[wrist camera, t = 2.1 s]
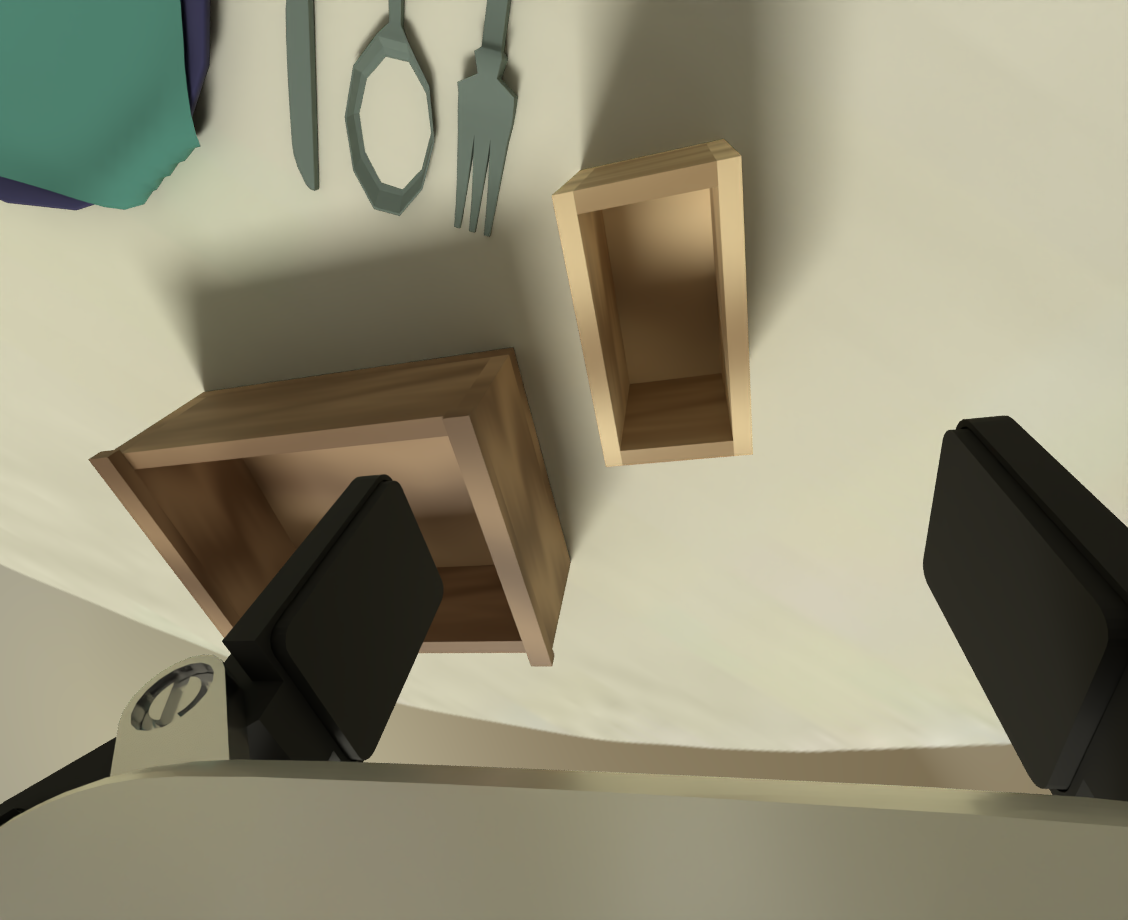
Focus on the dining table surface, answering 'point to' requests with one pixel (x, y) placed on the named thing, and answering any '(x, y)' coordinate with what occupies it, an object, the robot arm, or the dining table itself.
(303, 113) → the cutlery set
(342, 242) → the dining table surface
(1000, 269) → the dining table surface
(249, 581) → the walnut crate
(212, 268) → the dining table surface
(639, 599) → the dining table surface
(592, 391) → the oak crate
